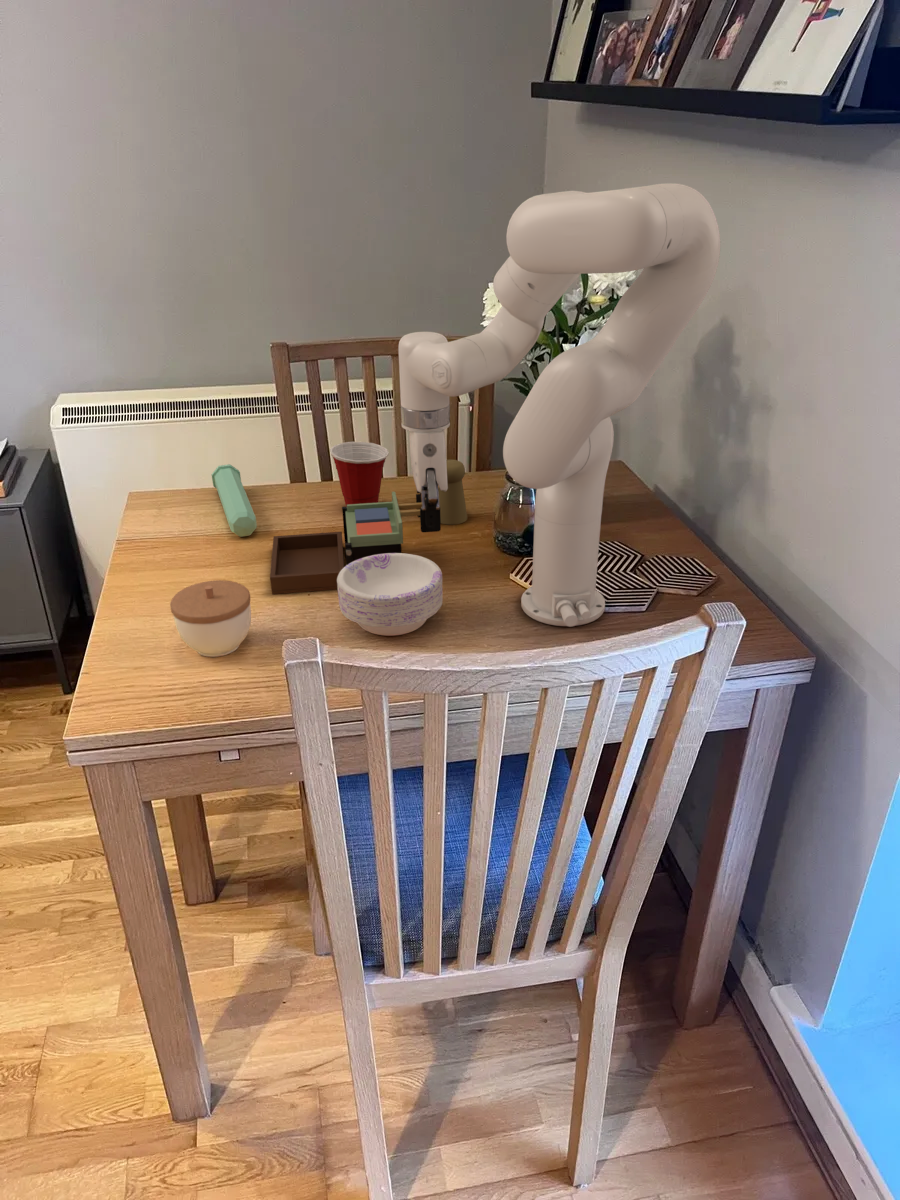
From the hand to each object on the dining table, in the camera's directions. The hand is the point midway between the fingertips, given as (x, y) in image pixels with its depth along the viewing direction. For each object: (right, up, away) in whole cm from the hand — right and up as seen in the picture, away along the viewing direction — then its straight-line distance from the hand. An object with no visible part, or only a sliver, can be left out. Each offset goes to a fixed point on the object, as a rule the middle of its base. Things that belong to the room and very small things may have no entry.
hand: (428, 522), depth 143 cm
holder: (-20, -8, +1) cm, 21 cm away
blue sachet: (-9, +1, +1) cm, 10 cm away
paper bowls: (-5, -16, -14) cm, 22 cm away
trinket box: (-29, -19, -19) cm, 40 cm away
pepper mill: (+4, +2, +19) cm, 19 cm away
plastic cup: (-13, +4, +23) cm, 27 cm away
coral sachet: (-9, -2, -4) cm, 10 cm away
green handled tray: (-6, -1, -1) cm, 6 cm away
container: (-37, +4, +22) cm, 43 cm away
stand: (-9, -7, +2) cm, 12 cm away
